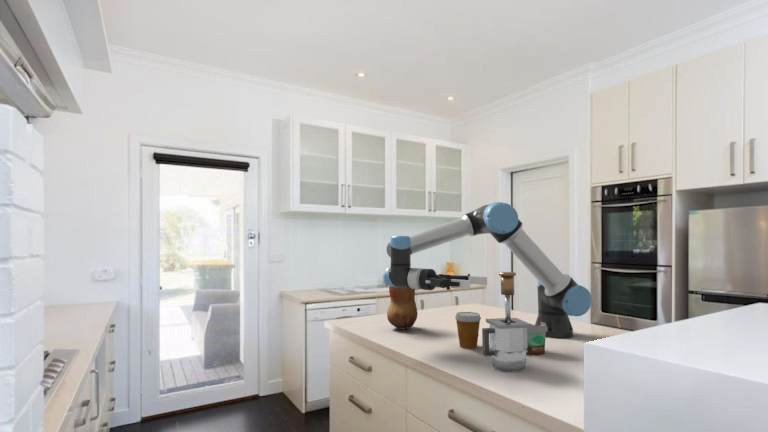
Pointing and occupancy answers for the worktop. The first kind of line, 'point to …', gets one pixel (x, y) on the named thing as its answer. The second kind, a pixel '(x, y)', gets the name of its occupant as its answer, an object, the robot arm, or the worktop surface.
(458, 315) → the disposable coffee cup
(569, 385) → the worktop surface
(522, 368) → the press carafe
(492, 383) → the worktop surface
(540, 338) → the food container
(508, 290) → the plunger
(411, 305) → the butternut squash
